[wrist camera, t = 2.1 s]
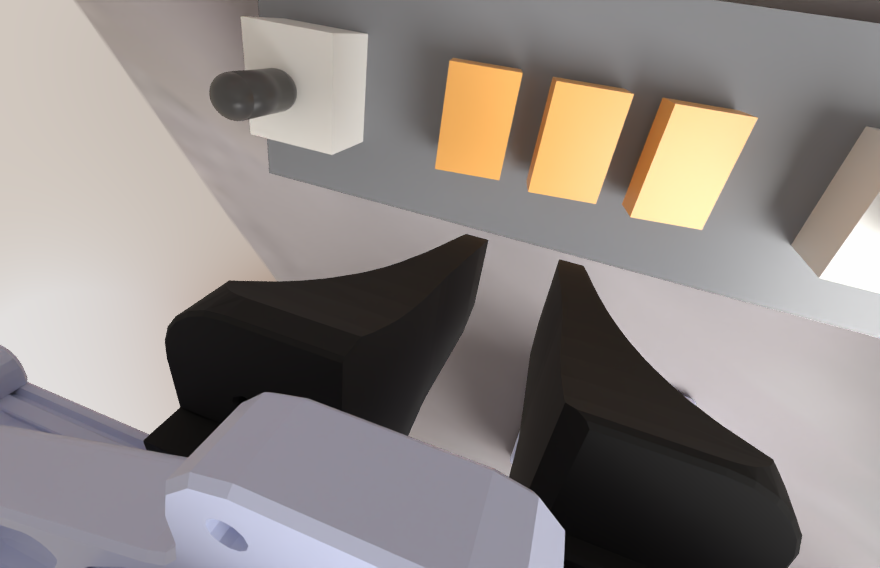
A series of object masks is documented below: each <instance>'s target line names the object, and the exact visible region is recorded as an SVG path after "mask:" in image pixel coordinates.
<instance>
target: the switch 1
mask: <svg viewBox="0 0 880 568" xmlns="http://www.w3.org/2000/svg"><path fill="white" fill-rule="evenodd" d="M522 74H523V72H522V70H521V69H517V68H511V67H505V66H499V65H493V64H487V63H481V62H475V61H469V60H464V59H458V58H452V59H451V60H450V61H449V69H448V76H447V83H446V91H445V98H444V105H443V113H442V120H441V127H440V135H439V142H438V149H437V157H436V164H435V169H438V170H444V171H449V172H455V173H461V174H466V175H472V176H478V177H483V178H489V179H494V180H499V179H500V175H501V170H502V166H503V161H504V157H505V152H506V147H507V143H508V138H509V134H510V129H511V124H512V120H513V115H514V111H515V106H516V102H517V97H518V92H519V88H520V83H521V79H522Z"/></svg>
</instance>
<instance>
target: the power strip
mask: <svg viewBox="0 0 880 568" xmlns="http://www.w3.org/2000/svg"><path fill="white" fill-rule="evenodd" d="M258 9H259V17H268V18H285V19H290V20H296V21H301V22H307V23H312V24H317V25H323V26H328V27H334V28H339V29H344V30H350V31H355V32H361V33H366V34H368V47H367V68H366V89H365V110H364V132H363V142H361V143H359V144H357V145H354V146H352V147H350V148H347V149H345V150H342V151H340V152H338V153H335V154H333V155H330V154H326V153H322V152H318V151H314V150H310V149H306V148H303V147H299V146H295V145H291V144H287V143H283V142H279V141H275V140H271V139H267V144H268V160H269V173H271V174H275V175H279V176H282V177H286V178H290V179H294V180H297V181H301V182H305V183H308V184H312V185H316V186H319V187H323V188H327V189H330V190H334V191H338V192H341V193H345V194H349V195H352V196H356V197H360V198H364V199H367V200H371V201H375V202H378V203H382V204H386V205H389V206H393V207H397V208H400V209H404V210H408V211H411V212H415V213H419V214H422V215H426V216H430V217H434V218H437V219H441V220H445V221H448V222H452V223H456V224H459V225H463V226H467V227H470V228H474V229H478V230H481V231H485V232H489V233H492V234H496V235H500V236H504V237H507V238H511V239H515V240H518V241H522V242H526V243H529V244H533V245H537V246H540V247H544V248H548V249H551V250H555V251H559V252H562V253H566V254H570V255H574V256H577V257H581V258H585V259H588V260H592V261H596V262H599V263H603V264H607V265H610V266H614V267H618V268H621V269H625V270H629V271H632V272H636V273H640V274H644V275H647V276H651V277H655V278H658V279H662V280H666V281H669V282H673V283H677V284H680V285H684V286H688V287H691V288H695V289H699V290H702V291H706V292H710V293H714V294H717V295H721V296H725V297H728V298H732V299H736V300H739V301H743V302H747V303H750V304H754V305H758V306H761V307H765V308H769V309H772V310H776V311H780V312H784V313H787V314H791V315H795V316H798V317H802V318H806V319H809V320H813V321H817V322H820V323H824V324H828V325H831V326H835V327H839V328H842V329H846V330H850V331H854V332H857V333H861V334H865V335H868V336H872V337H876V338H879V339H880V293H876V292H872V291H868V290H864V289H860V288H856V287H852V286H848V285H844V284H840V283H836V282H832V281H828V280H824V279H820V278H818V276H817V275H816V274H815V273H814V272H813V271H812V269H811V268H810V267H809V266H808V265H807V264H806V262H805V261H804V260H803V259H802V258H801V257H800V255H799V254H798V253H797V252H796V251H795V250H794V248H793V247H792V246H791V244H792V243H793V241H794V240H795V238H796V236H797V235H798V233H799V232H800V230H801V228H802V227H803V225H804V224H805V222H806V221H807V219H808V217H809V216H810V214H811V213H812V211H813V209H814V208H815V206H816V205H817V203H818V202H819V200H820V198H821V197H822V195H823V194H824V192H825V190H826V189H827V187H828V186H829V184H830V183H831V181H832V179H833V178H834V176H835V175H836V173H837V171H838V170H839V168H840V167H841V165H842V164H843V162H844V160H845V159H846V157H847V156H848V154H849V152H850V151H851V149H852V148H853V146H854V145H855V143H856V141H857V140H858V138H859V137H860V135H861V133H862V132H863V130H864V129H865V127H866V126H867V127H873V128H878V129H880V23H873V22H866V21H859V20H852V19H845V18H838V17H830V16H823V15H816V14H809V13H802V12H795V11H788V10H781V9H774V8H767V7H760V6H753V5H746V4H739V3H732V2H725V1H718V0H258ZM452 58H458V59H464V60H469V61H475V62H481V63H487V64H493V65H499V66H505V67H511V68H517V69H521V70H522V72H523V74H522V79H521V83H520V88H519V92H518V97H517V102H516V106H515V111H514V115H513V120H512V124H511V129H510V134H509V138H508V143H507V147H506V152H505V157H504V161H503V166H502V170H501V175H500V179H499V180H494V179H489V178H483V177H478V176H472V175H466V174H461V173H455V172H449V171H444V170H438V169H435V164H436V157H437V149H438V142H439V135H440V127H441V120H442V113H443V105H444V98H445V91H446V83H447V76H448V69H449V61H450V60H451V59H452ZM553 77H558V78H564V79H570V80H576V81H582V82H587V83H593V84H599V85H605V86H611V87H617V88H623V89H626V90H628V91H630V92H631V93H633V94H634V96H633V99H632V102H631V105H630V108H629V110H628V113H627V116H626V119H625V122H624V125H623V128H622V130H621V133H620V136H619V139H618V142H617V145H616V148H615V151H614V153H613V156H612V159H611V162H610V165H609V168H608V171H607V174H606V176H605V179H604V182H603V185H602V188H601V191H600V194H599V196H598V199H597V202H596V204H593V203H587V202H582V201H576V200H571V199H565V198H559V197H554V196H548V195H542V194H537V193H531V192H528V189H527V182H526V181H527V177H528V173H529V169H530V165H531V161H532V157H533V153H534V149H535V145H536V141H537V137H538V133H539V129H540V125H541V121H542V117H543V113H544V109H545V105H546V101H547V97H548V93H549V89H550V86H551V82H552V78H553ZM662 98H669V99H675V100H681V101H687V102H692V103H698V104H704V105H710V106H716V107H722V108H728V109H734V110H739V111H742V112H745V113H747V114H750V115H752V116H755V117H757V118H758V119H757V121H756V123H755V125H754V127H753V129H752V131H751V133H750V135H749V137H748V139H747V141H746V143H745V145H744V147H743V149H742V151H741V153H740V155H739V157H738V159H737V161H736V163H735V165H734V167H733V169H732V171H731V173H730V175H729V177H728V179H727V181H726V183H725V185H724V187H723V189H722V191H721V193H720V195H719V197H718V199H717V201H716V203H715V205H714V207H713V209H712V211H711V213H710V215H709V217H708V219H707V221H706V223H705V225H704V227H703V229H702V230H699V229H694V228H688V227H683V226H677V225H671V224H666V223H660V222H654V221H649V220H643V219H638V218H632V217H630V216H629V215H628V213H627V211H626V210H625V208H624V207H623V205H622V203H623V200H624V198H625V195H626V192H627V190H628V187H629V184H630V182H631V179H632V177H633V174H634V171H635V169H636V166H637V163H638V161H639V158H640V156H641V153H642V150H643V148H644V145H645V143H646V140H647V137H648V135H649V132H650V129H651V127H652V124H653V122H654V119H655V116H656V114H657V111H658V109H659V106H660V103H661V101H662Z"/></svg>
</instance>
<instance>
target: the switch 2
mask: <svg viewBox="0 0 880 568" xmlns="http://www.w3.org/2000/svg"><path fill="white" fill-rule="evenodd" d="M757 119H758V118H757V117H755V116H752V115H750V114H747V113H745V112H742V111H739V110H734V109H728V108H722V107H716V106H710V105H704V104H698V103H692V102H687V101H681V100H675V99H669V98H662V101H661V103H660V106H659V109H658V111H657V114H656V116H655V119H654V122H653V124H652V127H651V129H650V132H649V135H648V137H647V140H646V143H645V145H644V148H643V150H642V153H641V156H640V158H639V161H638V163H637V166H636V169H635V171H634V174H633V177H632V179H631V182H630V184H629V187H628V190H627V192H626V195H625V198H624V200H623V203H622V205H623V207H624V208H625V210H626V211H627V213H628V215H629V216H630V217H632V218H638V219H643V220H649V221H654V222H660V223H666V224H671V225H677V226H683V227H688V228H694V229H699V230H702V229H703V227H704V225H705V223H706V221H707V219H708V217H709V215H710V213H711V211H712V209H713V207H714V205H715V203H716V201H717V199H718V197H719V195H720V193H721V191H722V189H723V187H724V185H725V183H726V181H727V179H728V177H729V175H730V173H731V171H732V169H733V167H734V165H735V163H736V161H737V159H738V157H739V155H740V153H741V151H742V149H743V147H744V145H745V143H746V141H747V139H748V137H749V135H750V133H751V131H752V129H753V127H754V125H755V123H756V121H757Z"/></svg>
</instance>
